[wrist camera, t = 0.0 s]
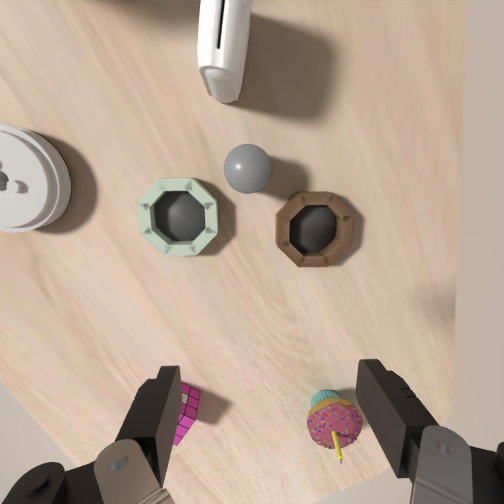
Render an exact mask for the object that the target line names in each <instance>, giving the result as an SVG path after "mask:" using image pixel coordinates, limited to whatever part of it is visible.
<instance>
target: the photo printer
mask: <svg viewBox="0 0 504 504" xmlns="http://www.w3.org/2000/svg"><path fill="white" fill-rule="evenodd" d="M251 1H252V0H201V5H200V16H199V29H198V51H197V53H198V66H199V71H200V74H201V76H202V79H203V82H204V84H205V87H206V89H207V92H208V94H209V95H210V96H213V98H214V99H215V100H217V101H218V102H221V103H230V102H233V101H234V100H236V101H237V100H238V97H239V94H240V91H241V86H242V82H243V81H242V80H243V74H244V68H245V61H246V54H247V46H248V38H249V30H250V15H251Z"/></svg>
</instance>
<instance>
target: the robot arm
mask: <svg viewBox="0 0 504 504" xmlns="http://www.w3.org/2000/svg"><path fill="white" fill-rule="evenodd" d="M356 395H357V399H358V402H359V405H360V407H361V409H362V411H363V412H364V414H365V416H366V418H367V420H368V422H369V424H370V426H371V428H372V430H373V432H374V434H375V436H376V438H377V440H378V442H379V444H380V446H381V448H382V449H383V451H384V453H385V455H386V457H387V459H388V461H389V463H390V465H391V467H392V469H393V471H394V473H395V475H396V477H397V478H409V479H410V480H411V482H412V484H413V485H412V491H411V497H410V504H504V442H501V443H500V444H499V445H498V448H497V451H496V452H494V451H489V450H485V449H481V448H476V447H472V446H469V445H468V444H467V443H466V441H465V440H464V439H463V438H462V437H461V436H459V435H458V434H457V433H455V432H453V431H452V430H450V429H448V428H445V427H442V426H440V425H439V424H438V423H437V422H436V420H435V419H434V418H433V416H432V415H431V414H430V413H429V411H428V410H427V409H426V408H425V406H424V405H423V404H422V402H421V401H420V400H419V399H418V398H417V397H416V395H415V394H414V392H413V391H412V390H410V387H409V386H408V385H407V383H406V382H405V381H404V380H403V378H401V377H400V376H399V375H397V374H396V373H394V372H393V371H387V370H386V369H385V367H384V366H383V365H382V363H381V362H380V361H379V360H378V359H363V360H360V361H359V364H358V374H357V383H356ZM181 408H182V387H181V376H180V367H179V366H161V368H160V370H159V373H158V375H157V378H156V379H148V380H147V381H146V382H145V383H144V384H143V385H142V386H141V387H140V388H139V389H138V392H137V394H136V396H135V398H134V400H133V403H132V405H131V408H130V409H129V411H128V414H127V416H126V418H125V420H124V422H123V424H122V427H121V429H120V431H119V433H118V435H117V438H116V440H115V442H114V443H112V444H110V445H109V446H107V447H106V448H105V449H104V450H103V451H101V453H100V454H99V455H98V457H97V458H96V460H95V461H93V462H91V463H89V464H86V465H83V466H81V467H78V468H75V469H72V470H69V471H66V472H65V470H64V467H63V465H61V464H60V463H56V462H48V463H44V464H41V465H39V466H37V467H35V468H33V469H31V470H30V471H28V472H27V473H25V474H24V475H23V476H22V477H21V478H20V479H19V480H18V481H17V482H16V483H15V484H14V486H13V487H12V489H11V490H10V492H9V493H8V495H7V497H6V498H5V499H4V501H3V502H2V504H175V503H174V501H173V499H172V497H171V495H170V493H169V492H168V491H167V489H163V490H162V488H163V483H164V479H165V475H166V471H167V467H168V463H169V458H170V454H171V450H172V446H173V442H174V438H175V433H176V429H177V425H178V421H179V417H180V413H181Z"/></svg>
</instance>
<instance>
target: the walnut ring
mask: <svg viewBox="0 0 504 504" xmlns="http://www.w3.org/2000/svg"><path fill="white" fill-rule="evenodd" d="M324 205H325V206H324ZM333 214H334V215H335V216H336V219H335V216H334V215H333ZM353 219H354V216H353V214H352V213H351V212H350V210H349V209H348V208H347V207H346V206H345V205H344V204H343V203H342V202H341V201H340V200H339V198H338V197H337V196H336V195H335V194H334V193H331V192H327V191H326V192H297V193H296V194H295V195H294V196H293V197H292V198H291V199H290V200H289V201H288V202H287V203H286V204H285V205H284V206H283V207H282V208H281V209H280V210H279V211H278V212H277V214H276V244H277V246H278V248H279V249H280V250H281V251H282V252H284V253H285V254H286V255H287V256H288V257H289V258H290V259H291V260H292V261H293V262H294V263H295V264H296V265H297V266H298V267H328V266H330V265H331V264H332V263H333V262H334V261H335V260H336V259H337V258H338V257H339V256H340V255H341V254H343V253H344V252H345V251H346V250H347V249H348V248H349V247H350V245H351V242H352V230H353ZM334 236H335V237H334ZM289 240H290V241H289ZM298 249H299V250H301V251H304V252H300V251H299V250H298ZM320 250H321V251H320Z"/></svg>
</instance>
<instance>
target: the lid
mask: <svg viewBox="0 0 504 504" xmlns="http://www.w3.org/2000/svg"><path fill="white" fill-rule="evenodd" d="M70 193H71V183H70V177H69V173H68V170H67V167H66V165H65V163H64V161H63V159H62V157H61V156H60V155H59V153H58V152H57V150H56V149H55V148H54V147H53V146H52V145H51V144H50V143H49V142H47V141H46V140H45V139H44V138H42V137H41V136H39V135H38V134H36V133H34V132H32V131H29V130H27V129H24V128H20V127H15V126H9V125H4V124H0V231H5V232H14V233H16V232H25V231H29V230H32V229H35V228H39V227H43V226H46V225H48V224H50V223H52V222H53V221H55V220H56V219H57V218H59V217H60V216H61V214H62V213H63V212H64V210H65V209H66V207H67V205H68V202H69V199H70Z"/></svg>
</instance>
